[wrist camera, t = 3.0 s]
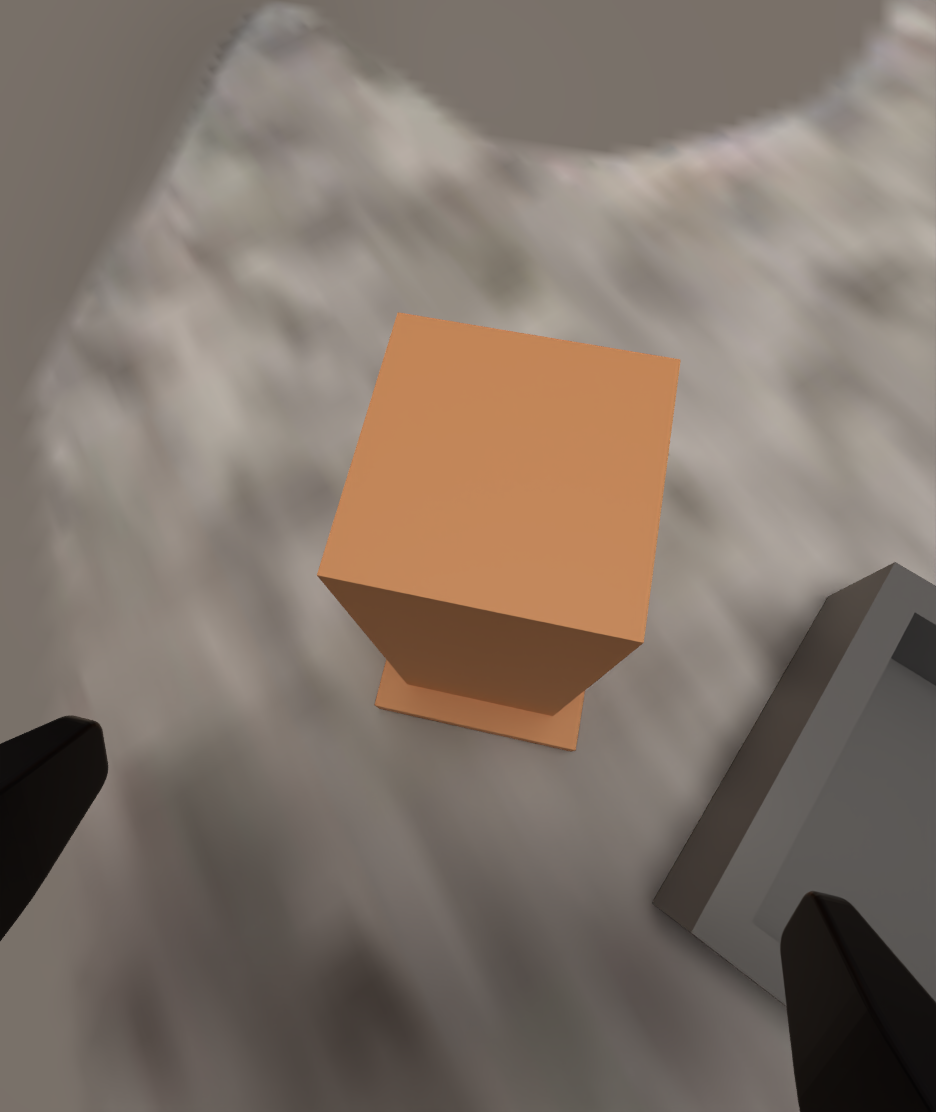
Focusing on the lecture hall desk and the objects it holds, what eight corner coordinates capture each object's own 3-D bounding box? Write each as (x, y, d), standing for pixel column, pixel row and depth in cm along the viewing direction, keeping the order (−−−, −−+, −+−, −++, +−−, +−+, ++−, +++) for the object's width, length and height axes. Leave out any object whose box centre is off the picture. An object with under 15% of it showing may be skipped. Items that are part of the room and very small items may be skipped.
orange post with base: (570, 751, 19) (699, 718, 8) (379, 708, 20) (241, 620, 8) (600, 566, 21) (738, 325, 10) (424, 532, 22) (362, 264, 10)
